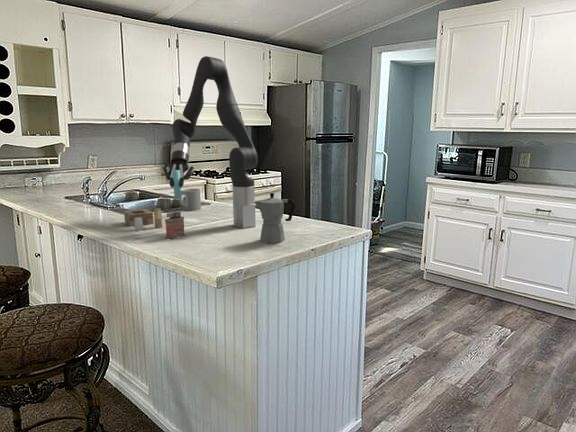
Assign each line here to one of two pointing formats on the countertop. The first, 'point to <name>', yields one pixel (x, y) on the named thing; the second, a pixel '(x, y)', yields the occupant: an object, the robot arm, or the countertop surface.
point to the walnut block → (144, 214)
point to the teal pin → (176, 184)
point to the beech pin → (158, 218)
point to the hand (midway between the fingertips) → (176, 186)
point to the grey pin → (138, 224)
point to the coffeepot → (273, 218)
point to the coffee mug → (190, 199)
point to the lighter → (174, 225)
